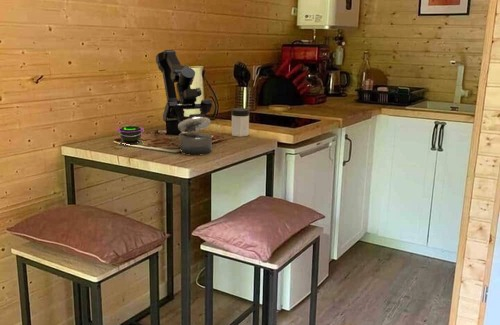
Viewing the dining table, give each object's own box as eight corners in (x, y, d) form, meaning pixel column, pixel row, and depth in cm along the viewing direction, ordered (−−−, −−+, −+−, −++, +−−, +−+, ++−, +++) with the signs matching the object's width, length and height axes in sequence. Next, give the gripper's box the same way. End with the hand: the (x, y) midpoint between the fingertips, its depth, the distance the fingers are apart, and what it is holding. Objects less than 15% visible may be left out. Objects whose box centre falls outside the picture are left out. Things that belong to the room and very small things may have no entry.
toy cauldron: (113, 150, 204) (111, 124, 201) (112, 142, 217) (111, 117, 214) (150, 148, 208) (149, 122, 205) (147, 140, 221) (146, 116, 218)
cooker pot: (175, 148, 209) (174, 132, 207) (204, 145, 214) (204, 130, 212) (185, 156, 196) (184, 140, 195) (216, 153, 202) (216, 137, 200)
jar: (236, 137, 230) (236, 111, 226) (227, 134, 236) (227, 108, 233) (252, 135, 234) (253, 110, 231) (243, 132, 241) (243, 107, 238)
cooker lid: (175, 132, 206) (174, 126, 207) (205, 130, 211) (204, 124, 212) (182, 120, 194) (181, 114, 195) (214, 118, 200) (213, 112, 200)
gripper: (166, 81, 200) (174, 113, 194) (210, 80, 208) (220, 110, 201) (162, 98, 209) (170, 129, 203) (204, 96, 217) (213, 126, 210)
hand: (193, 123), depth 204 cm, fingers open, 9 cm apart
